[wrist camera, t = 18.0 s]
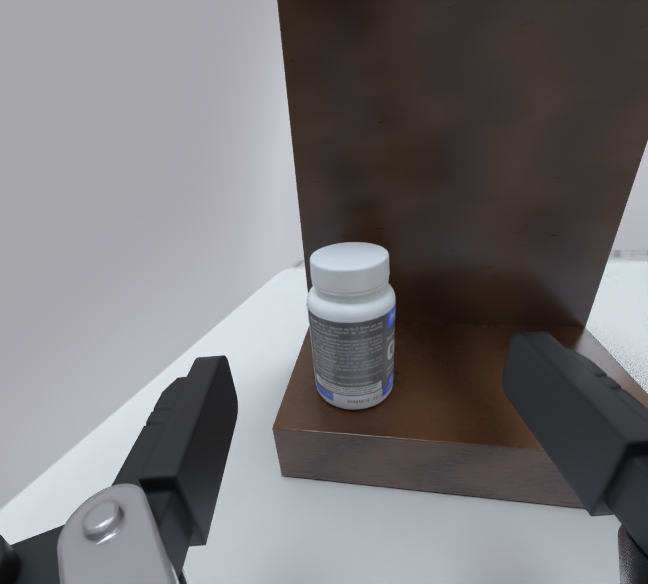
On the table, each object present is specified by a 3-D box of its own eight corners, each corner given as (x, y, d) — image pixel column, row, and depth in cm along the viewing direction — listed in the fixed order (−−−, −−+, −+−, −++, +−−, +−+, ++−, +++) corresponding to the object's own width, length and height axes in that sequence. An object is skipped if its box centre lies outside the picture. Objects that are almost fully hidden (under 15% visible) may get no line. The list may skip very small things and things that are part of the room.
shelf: (281, 476, 20) (123, -308, 7) (317, 351, 30) (275, -62, 18) (678, 519, 16) (1606, -812, 4) (563, 361, 27) (722, -142, 14)
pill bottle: (406, 403, 19) (413, 264, 15) (323, 420, 18) (309, 279, 14) (378, 352, 23) (378, 234, 19) (310, 365, 22) (296, 244, 19)
